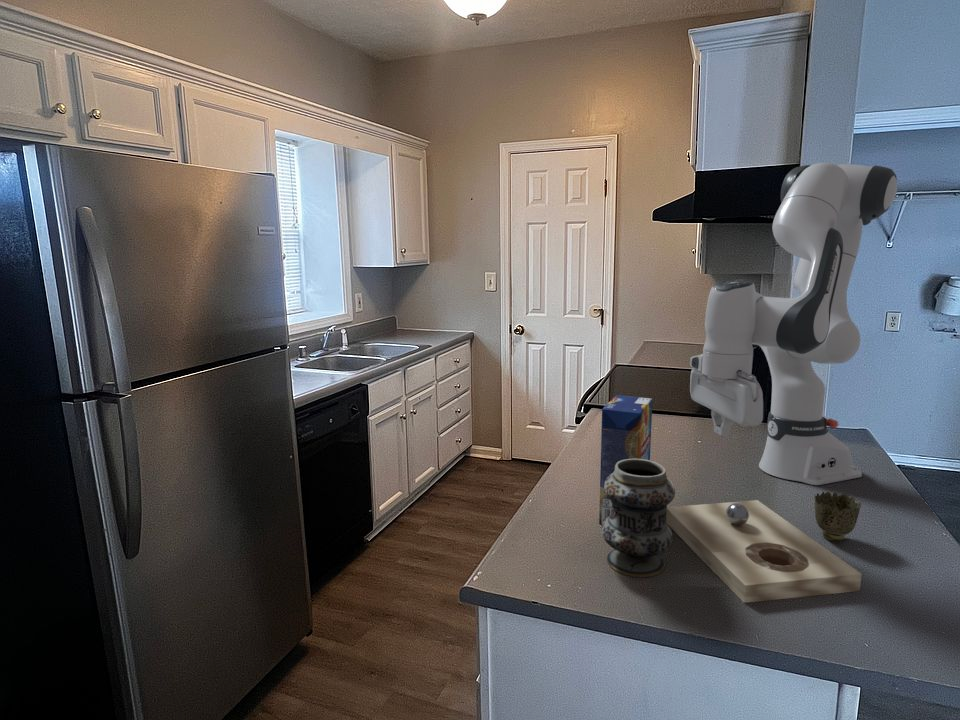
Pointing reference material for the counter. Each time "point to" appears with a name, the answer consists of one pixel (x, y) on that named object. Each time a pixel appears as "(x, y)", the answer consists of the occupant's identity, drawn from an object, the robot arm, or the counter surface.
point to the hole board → (761, 553)
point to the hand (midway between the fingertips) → (721, 434)
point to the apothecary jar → (638, 517)
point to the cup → (836, 515)
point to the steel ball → (737, 514)
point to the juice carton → (623, 438)
